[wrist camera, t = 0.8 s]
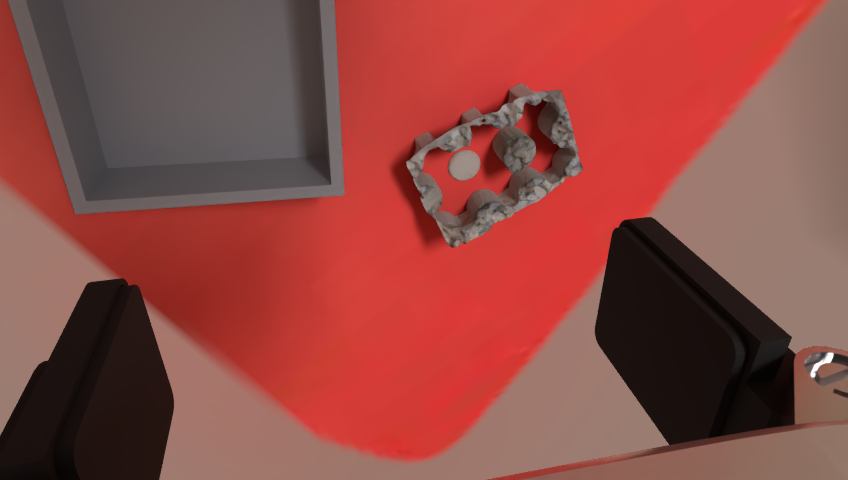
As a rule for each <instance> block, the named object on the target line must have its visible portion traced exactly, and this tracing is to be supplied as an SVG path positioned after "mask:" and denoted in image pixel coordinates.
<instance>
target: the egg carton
mask: <svg viewBox="0 0 848 480" xmlns="http://www.w3.org/2000/svg"><path fill="white" fill-rule="evenodd" d="M541 99H542V100H543V101H547V104H546V106H545V107H544V108H543V110H542V111H541V113H540V114H539V117H538V128H539V130H540V131H541V132H542V133H543V134H544V135H546V136H547V137H548V138H549V139H550V140H552V142H553V144H557V145H558V146H559V147H560V148H559V149H558V150H557V151H556V153H555V154H554V156H553V159H552V166H551V167H550V168H549V169H547V170H546V171H544V172H541V173H539V172H538V171H537V170H536V169H534V168H532V167H528V165H529V164H531V163H532V161H533V159H534V156H535V154H536V145H535V142H534V141H533V140H532V139H531V138H530V137H529V136H528V135H526V134H525V133H524V132H523V131H522V130H521V129H519V128H518V127H515V126H514V125H515V124H517V122H518V120H519V119H521V118H522V113H524V104H525V103H529V104H531V105H534V106H536V105H538V104H539V103H540V102H541ZM483 119H486V122H484V124H486V125H489V124H491V125H493V127H494V128H497V129H500V130H499V131H498V132H497V134H496V135H495V138H494V140H493V143H492V144H493V150H494V152H495V153H496V155H497V156H498V157H499V158H500V159H501V161H502V162H503V163H504V164H505V166H506V167H507V168H508V169H509V171H510V172H511V173H512V174H513V175H512V176H511V178H510V182H509V187H508V188H506V189H505V190H504V191H502V192H501V193H500V194H498V195H496V194H495V193H494V192H493V191H491V190H488V189H480V190H477V191H475V192H474V193H473V194H472V195H471V196H470V197H469V199H468V200H467V205H466V208H467V210H466V211H464V212H463V213H461V214H459V215H456V216H453V215H452V214H451V213H449V212H446V211H438V209H439V208H440V207H441V204H442V200H443V199H442V192H441V190H440V188H439V187H438V185H437V183H436V181H435V180H434V178H433V177H432V176H430V175H429V174H427V173H420V172H422V169H423V164H424V157H425V155H426V153H427V152H428V151H429V150H431V149H434V148H437V147H439V148H441V149H442V150H444V151H447V152H449V153H450V152H453V151H457V150H459V149H461V148H462V147H465V146H467V147H469V146H470V141H471V139H472V137H473V136H472V132H471V129H470V126H472V125H475V126H480V125H482V124H483V122H482V120H483ZM503 127H504V128H503ZM415 143H416V151H415V153H414V155H413V157H412V158H411V159H410V160H408V161H406V165H407V167H408V169H409V171H410V173H411V174H412V176H413V177H414V178H413V180H414V183H415V185H416V187H417V189H418V190H419V192H420V193H421V194H422V196H421V197H420V198H421V201H422V204H423V206H424V208H425V210H426V212H427V213H428V214H430V215H431V216H432V217H433V218H434V219H435V220H436V222H437V224H438V226H439V228H440V230H441V232H442V235H443V236H444V238H445V240H446V242H447V244H448V245H449V246H451V247H452V248H454V247H457V246H459V245H460V244H462V243H464V244H466V243H468V242H470V241H471V240H472V239H474V238H476V237H479V236H481V235H483V234H484V233H486V232H487V231H488V230H490V229H492V224H494V223H496V222H498V221H501V220H503V219H507V218H509V217H511V216H512V215H513V213H514V212H516V211H518V210H520V209H522V208H524V207H526V206H527V205H530V204H533V203H536V202H538V201H539V200H540V199H541V198H543V197H544V196H546V195H547V194H548V193H550V192H551V191H552V190H553V189H554V188H555V187H556V186H558V185H560V184H561V183H562V182H563V181H564V180H565V178H566V177H567V176H568V177H574V176H576V175H578V174H579V173H580V172H581V171H582V170H583V167H582V164H581V163H580V160H579V157H578V147H577V145H576V142H575V139H574V132H573V129H572V126H571V121H570V116H569V114H568V111H567V109H566V107H565V101H564V97H563V95H562V92H561V90H553V91H540V92H534V91H532V90H531V89H530V88H528V87H527V86H526V85H525V84H523V83H520V84H518V85H516V86H514V87H512V88H510V89H509V99H508V103H506V104H504V105H503V106H502V107H501V109H500V110H499V111H498V112H493V113H489V114H485V115H483V114H481V113H480V112H479V111H478V110H477V108H476V107H474V108H472V109H470V110H468V111H466V112H464V113H462V124H461V125H460V126H457V127H455V128H453V129H451V130H449V131H448V132H446V133H445V134H443V135H442V136H440V137H439V138H438V139H436V138H434V137H432V136H431V134H430V133H429V132H426V133H424V134H422V135H420V136H418V137H416V138H415ZM526 166H527V167H526ZM479 168H480V158H479V157H478V155H477V154H476V153H474V152H473V151H470V150H462V151H459V152H457V153H455V154H454V155H453V156H452V157H451V159H450V161H449V164H448V171H449V174H450V175H451V176H452V177H454V178H455V179H456V180H461V181H464V180H468V179H470V178H472V177H474V175H476V174H477V172H478V170H479Z"/></svg>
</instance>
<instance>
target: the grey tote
mask: <svg viewBox="0 0 848 480" xmlns="http://www.w3.org/2000/svg"><path fill="white" fill-rule="evenodd" d="M8 3H9V6H10V9H11V12H12V15H13V19H14V22H15V25H16V28H17V31H18V34H19V38H20V41H21V44H22V47H23V50H24V54H25V57H26V60H27V63H28V66H29V69H30V73H31V76H32V79H33V82H34V85H35V89H36V92H37V95H38V98H39V101H40V104H41V108H42V111H43V114H44V117H45V120H46V124H47V127H48V130H49V133H50V136H51V139H52V143H53V146H54V149H55V152H56V155H57V159H58V162H59V165H60V168H61V171H62V174H63V178H64V181H65V184H66V187H67V190H68V194H69V197H70V200H71V203H72V206H73V209H74V213H75V214H89V213H103V212H117V211H132V210H146V209H160V208H174V207H188V206H202V205H216V204H230V203H244V202H258V201H272V200H286V199H300V198H314V197H328V196H342V195H345V194H344V175H343V155H342V136H341V117H340V98H339V78H338V59H337V40H336V21H335V1H334V0H8Z"/></svg>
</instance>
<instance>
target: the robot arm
mask: <svg viewBox="0 0 848 480" xmlns="http://www.w3.org/2000/svg"><path fill="white" fill-rule="evenodd" d="M595 336H596V340H597V342H598V344H599V346H600V348H601V349H602V350H603V352H604V353H605V355H606V356H607V357H608V359H609V360H610V362H611V363H612V364H613V366H614V367H615V369H616V370H617V372H618V373H619V374H620V376H621V377H622V379H623V380H624V382H625V383H626V384H627V386H628V387H629V389H630V390H631V391H632V393H633V394H634V396H635V397H636V398H637V400H638V401H639V403H640V404H641V405H642V407H643V408H644V410H645V411H646V413H647V414H648V415H649V417H650V418H651V420H652V421H653V422H654V424H655V425H656V426H657V428H658V430H659V431H660V432H661V434H662V435H663V437H664V438H665V439H666V441H667V442H668V444H669V445H668V446H663V447H657V448H652V449H647V450H642V451H636V452H631V453H625V454H620V455H614V456H609V457H604V458H598V459H593V460H588V461H582V462H577V463H572V464H567V465H561V466H556V467H551V468H546V469H540V470H535V471H530V472H525V473H519V474H514V475H509V476H504V477H499V478H494V479H488V480H848V352H847V351H844V350H841V349H837V348H832V347H826V346H825V347H823V346H820V347H819V346H812V347H808V348H804V349H802V350H801V351H799V352H798V353H797V354H795V353H794V352H793V351H792V350H790V349H789V348H788V346H789V343H790V341H791V338H792V337H791V336H790V335H789V334H787V333H786V332H785V331H784V330H783V329H782V328H780V327H779V326H778V325H777V324H776V323H775V322H773V321H772V320H771V319H770V318H769V317H768V316H766V315H765V314H764V313H763V312H762V311H761V310H760V309H758V308H757V307H756V306H755V305H754V304H753V303H751V302H750V301H749V300H748V299H747V298H746V297H744V296H743V295H742V294H741V293H740V292H739V291H737V290H736V289H735V288H734V287H733V286H732V285H731V284H729V283H728V282H727V281H726V280H725V279H724V278H722V277H721V276H720V275H719V274H718V273H717V272H716V271H714V270H713V269H712V268H711V267H710V266H709V265H707V264H706V263H705V262H704V261H703V260H702V259H700V258H699V257H698V256H697V255H696V254H694V253H693V252H692V251H691V250H690V249H689V248H688V247H687V246H685V245H684V244H683V243H682V242H681V241H680V240H678V239H677V238H676V237H675V236H674V235H673V234H671V233H670V232H669V231H668V230H667V229H666V228H664V227H663V226H662V225H661V224H660V223H659V222H657V221H656V220H655V219H654V218H652V217H646V218H637V219H629V220H624V221H622V222H621V224H620V226H619V228H616V229H614V231H613V233H612V237H611V243H610V248H609V254H608V259H607V265H606V270H605V276H604V281H603V287H602V292H601V298H600V303H599V309H598V315H597V320H596V325H595ZM173 410H174V398H173V393H172V389H171V386H170V383H169V380H168V377H167V373H166V370H165V367H164V364H163V360H162V357H161V355H160V351H159V348H158V345H157V342H156V338H155V335H154V332H153V329H152V326H151V323H150V319H149V316H148V313H147V310H146V307H145V304H144V300H143V297H142V294H141V291H140V289H139V287H138V286H137V285H130V286H129V285H128V283H127V282H126V280H125V279H123V278H122V279H113V280H105V281H97V282H90V283H88V284H87V285H86V287H85V289H84V290H83V292H82V294H81V296H80V298H79V300H78V302H77V304H76V306H75V308H74V310H73V312H72V314H71V316H70V318H69V320H68V322H67V324H66V326H65V328H64V330H63V332H62V334H61V336H60V338H59V340H58V342H57V344H56V346H55V348H54V350H53V352H52V354H51V356H50V358H49V360H48V361H44V362H42V363H40V364H39V365H38V366H37V368H36V369H35V370H34V372H33V374H32V376H31V378H30V380H29V382H28V384H27V386H26V387H25V389H24V391H23V393H22V395H21V397H20V399H19V401H18V403H17V405H16V407H15V409H14V410H13V412H12V414H11V416H10V418H9V420H8V422H7V424H6V426H5V428H4V430H3V432H2V434H1V435H0V480H159V477H160V473H161V468H162V464H163V459H164V454H165V449H166V444H167V440H168V434H169V430H170V425H171V420H172V416H173Z"/></svg>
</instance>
